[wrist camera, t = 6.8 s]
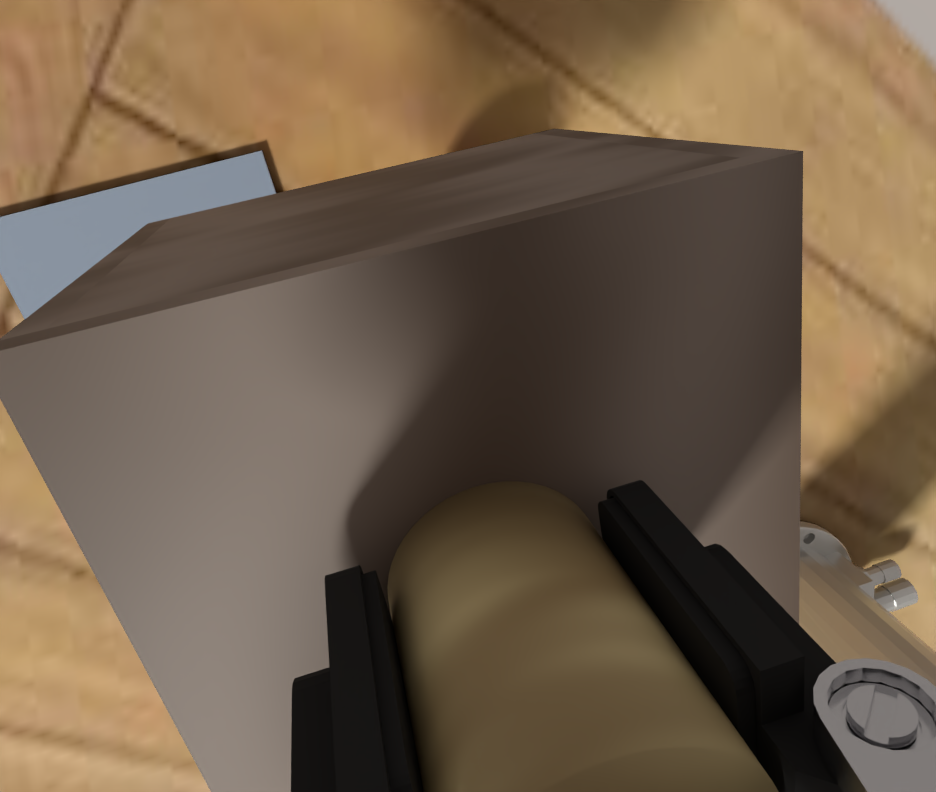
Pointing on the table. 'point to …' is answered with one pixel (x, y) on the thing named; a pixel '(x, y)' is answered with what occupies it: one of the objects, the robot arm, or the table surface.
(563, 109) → the table surface
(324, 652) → the cover
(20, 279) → the mat
